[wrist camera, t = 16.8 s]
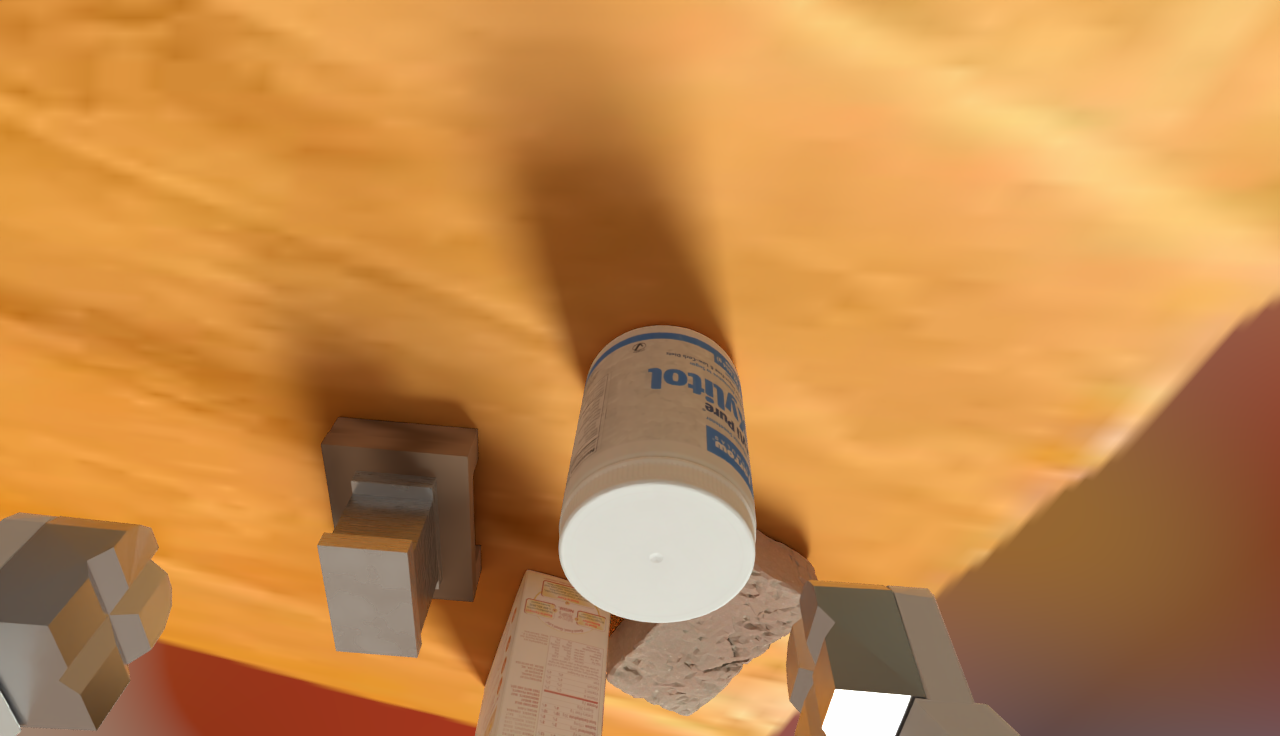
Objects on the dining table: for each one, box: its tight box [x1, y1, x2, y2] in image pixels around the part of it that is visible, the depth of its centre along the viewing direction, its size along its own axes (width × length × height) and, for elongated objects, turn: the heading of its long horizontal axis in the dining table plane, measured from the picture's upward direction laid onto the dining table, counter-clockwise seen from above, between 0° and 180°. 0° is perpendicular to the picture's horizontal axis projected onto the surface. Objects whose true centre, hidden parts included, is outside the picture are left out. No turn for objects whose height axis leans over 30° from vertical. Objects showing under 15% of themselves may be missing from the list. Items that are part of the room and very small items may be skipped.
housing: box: [317, 471, 443, 658], centre depth 49 cm, size 9×5×6 cm, turn 175°
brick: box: [606, 530, 817, 716], centre depth 58 cm, size 17×8×5 cm, turn 148°
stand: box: [321, 417, 482, 602], centre depth 53 cm, size 9×13×3 cm
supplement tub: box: [558, 325, 756, 623], centre depth 43 cm, size 10×10×15 cm
